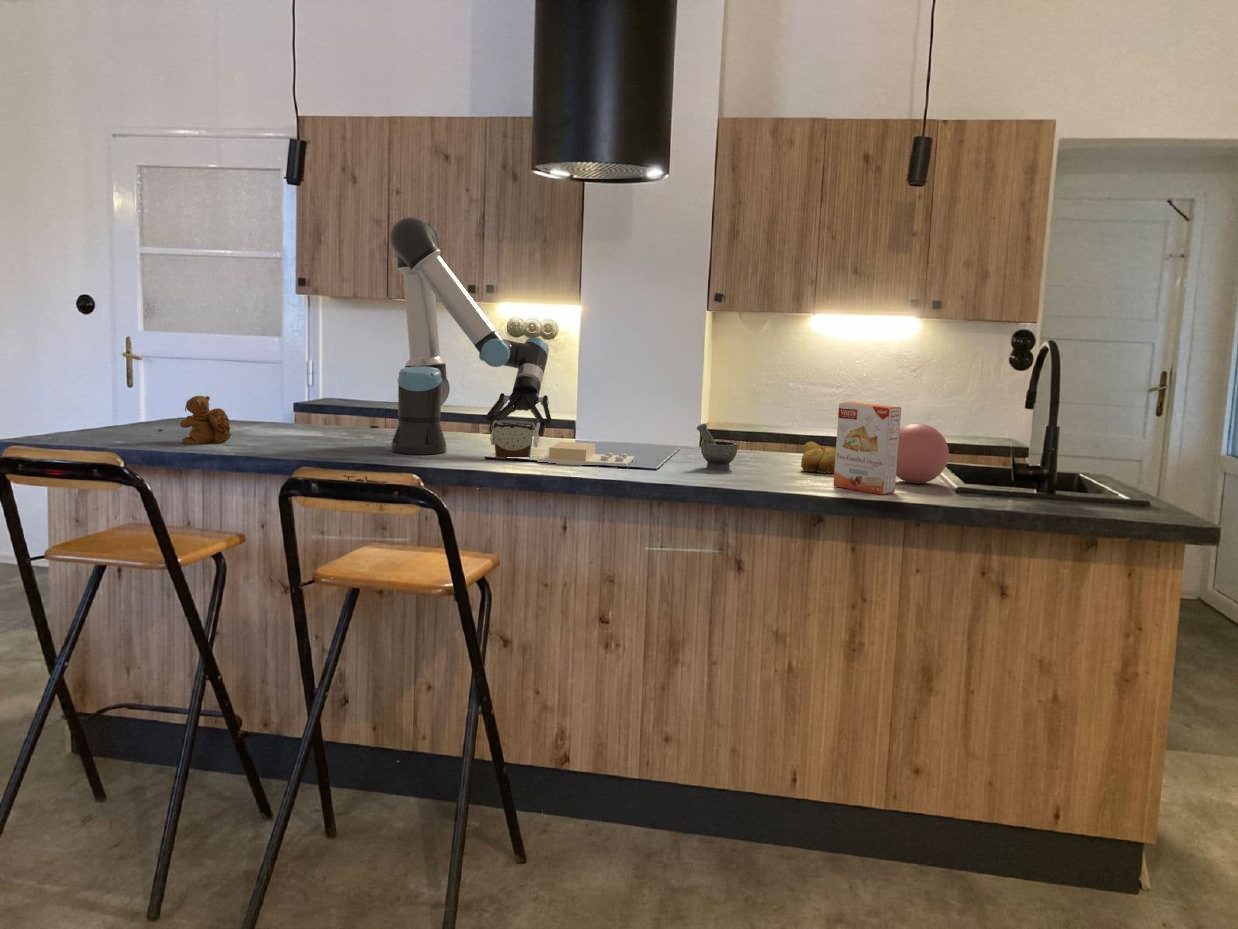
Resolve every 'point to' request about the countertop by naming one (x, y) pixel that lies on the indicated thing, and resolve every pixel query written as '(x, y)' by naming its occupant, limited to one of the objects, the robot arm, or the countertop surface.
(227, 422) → the stuffed squirrel
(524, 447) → the food container
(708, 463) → the mortar and pestle
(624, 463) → the build plate
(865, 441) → the cracker box
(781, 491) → the countertop surface
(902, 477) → the balloon
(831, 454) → the bread roll
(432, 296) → the robot arm
